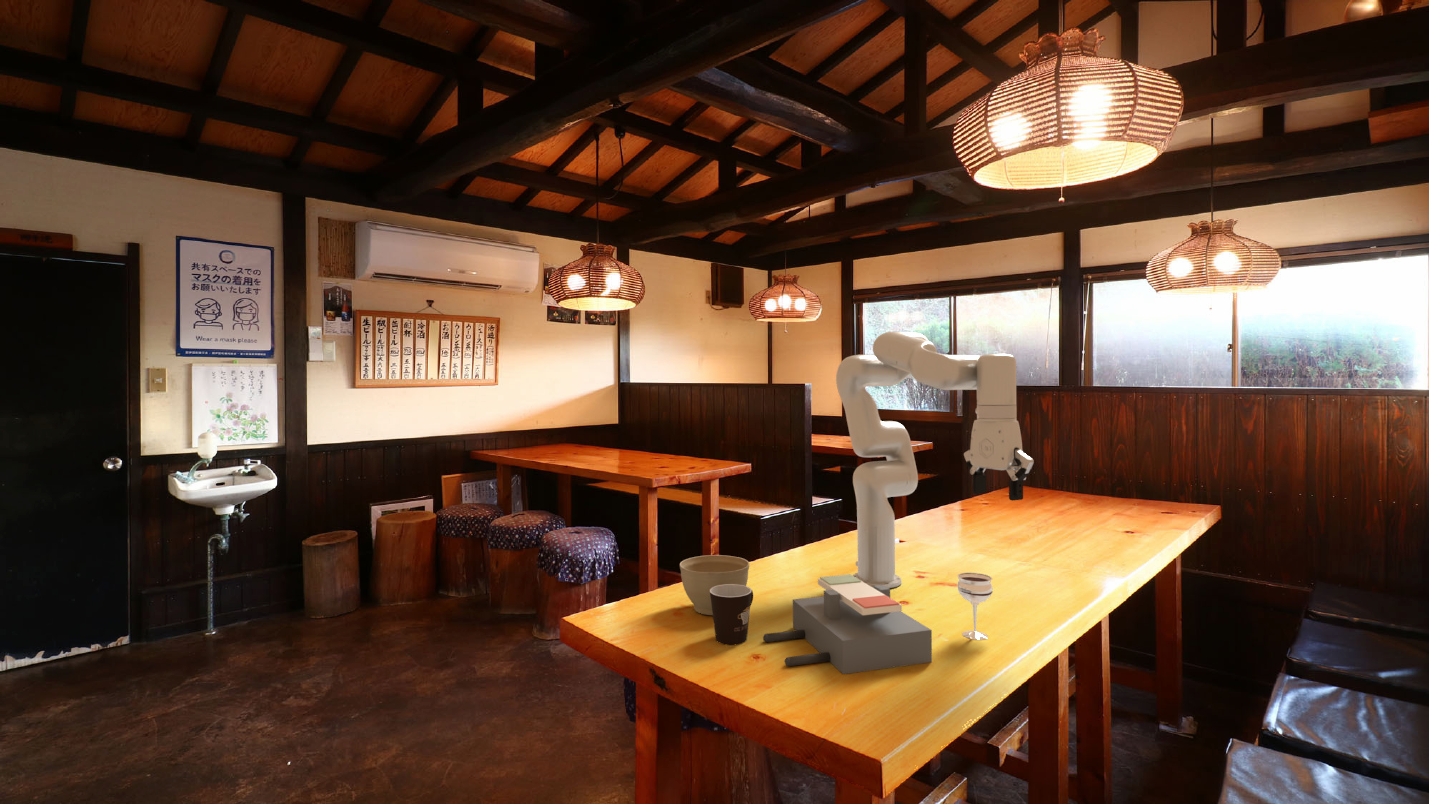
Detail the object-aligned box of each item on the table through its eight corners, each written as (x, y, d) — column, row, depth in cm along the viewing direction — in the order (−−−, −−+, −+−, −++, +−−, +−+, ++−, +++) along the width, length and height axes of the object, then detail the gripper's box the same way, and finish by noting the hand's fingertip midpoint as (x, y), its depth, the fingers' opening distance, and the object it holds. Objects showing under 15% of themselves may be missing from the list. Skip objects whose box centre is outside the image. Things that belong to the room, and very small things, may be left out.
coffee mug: (722, 650, 128) (722, 599, 128) (703, 635, 136) (702, 588, 136) (772, 639, 133) (772, 590, 133) (751, 625, 141) (750, 579, 141)
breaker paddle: (817, 585, 139) (817, 577, 139) (853, 581, 141) (853, 574, 141) (861, 616, 120) (861, 607, 120) (902, 611, 122) (902, 602, 122)
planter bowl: (764, 610, 151) (763, 563, 151) (709, 627, 141) (708, 577, 140) (720, 594, 163) (719, 550, 163) (666, 608, 153) (666, 562, 153)
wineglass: (959, 627, 139) (959, 571, 138) (994, 632, 136) (994, 574, 135) (955, 638, 133) (955, 579, 132) (991, 643, 129) (991, 583, 129)
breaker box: (754, 631, 138) (753, 580, 137) (869, 618, 144) (868, 570, 144) (797, 680, 114) (796, 619, 114) (931, 662, 121) (931, 604, 121)
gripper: (952, 413, 142) (952, 492, 142) (1017, 415, 126) (1017, 504, 126) (978, 412, 145) (979, 489, 145) (1045, 414, 129) (1045, 501, 129)
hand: (997, 496), depth 135 cm, fingers open, 9 cm apart
